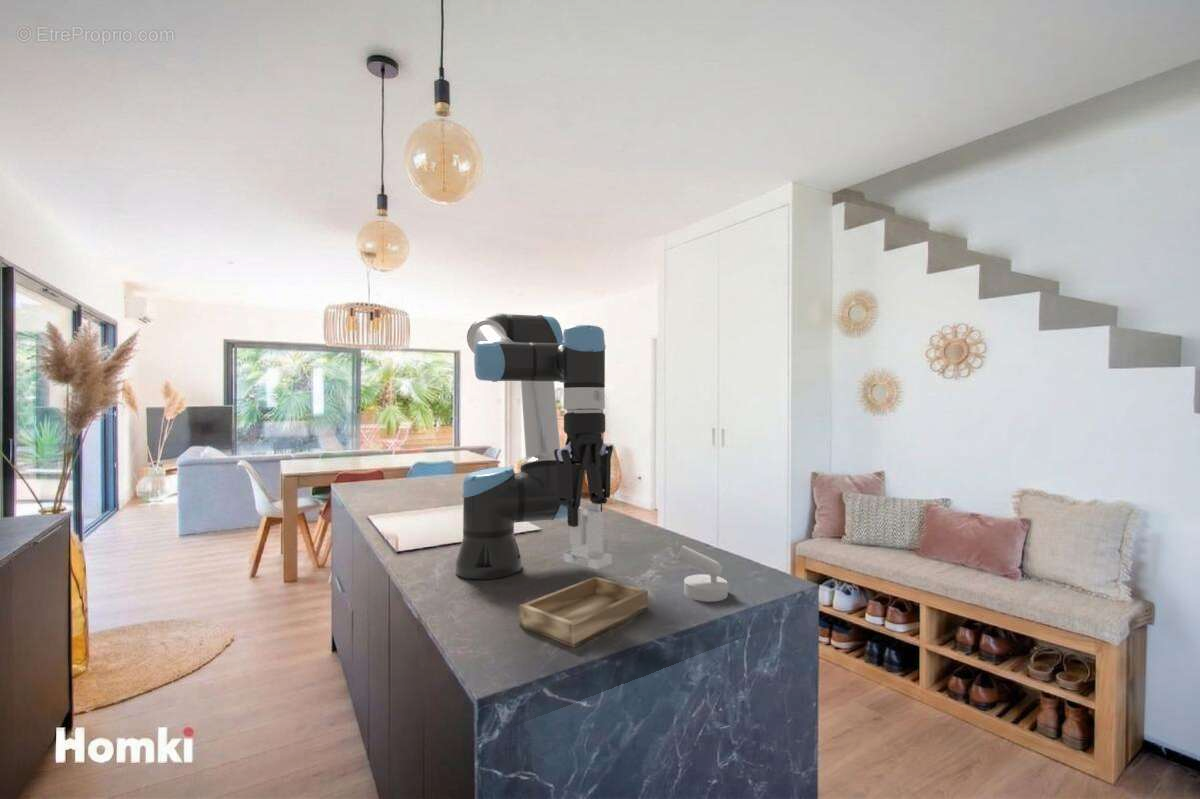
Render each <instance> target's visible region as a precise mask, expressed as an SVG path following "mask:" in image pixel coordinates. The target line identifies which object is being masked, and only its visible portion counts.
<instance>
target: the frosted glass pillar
mask: <svg viewBox="0 0 1200 799" xmlns="http://www.w3.org/2000/svg"><path fill="white" fill-rule="evenodd" d="M603 525H604V524H603V510H602V511H595V510H588V509H587V508H585V509H584V508H583V540H584V545H582V546H579V545H575V544H571V550H568V551H566V552H563V562H566V563H569V564H574V565H577V566H579V565H580V566H583V567H588V568H592V569H595V570H598V569H601V568H604V567H606V566H609V565H612V564H613V561H612V560H613V555H612V554H609V553H604V530H603V528H604V526H603Z"/></svg>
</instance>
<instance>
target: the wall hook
mask: <svg viewBox="0 0 1200 799" xmlns="http://www.w3.org/2000/svg"><path fill="white" fill-rule="evenodd" d="M676 560H679V561H680V562H682V563H684V564H686V565H688V566H690V567H692V568H694V569H696V570H698V571H700V572H703V574H692V575H688V576H686V577H685V578H684V580H683V595H685V596H686V597H687V598H689V599H691V600H694V601H698V602H706V603H707V602H708V603H709V602H718V601H719V602H720V601H723V600H725V599H727V598H728V596H729V594H728V592H729V591H728V580H726V579H725V578H723V577H721V575H722V573H723V566H722V565H721V564H720V563H719V562H718V561H717V560H715V559H712V558H711V557H708V556H707V555H704V554H702V553H700V552H699V551H696V550H694V549H692V548H690V547H688V546H685V545H683V544H682V545H681V547H680V550H679V552H678V554H677V558H676Z"/></svg>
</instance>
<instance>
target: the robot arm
mask: <svg viewBox="0 0 1200 799" xmlns="http://www.w3.org/2000/svg"><path fill="white" fill-rule="evenodd" d="M605 340H606V339H605V332H604V329H603V328H601V327H600V326H598V325H597V326H596V325H593V324H592V325H590V324H578V325H569V326H567V327H565V328H564V330H562V327H561V324H560V322H559V321H558V320H557V319H556V318H555V317H553V316H547V315H543V314H537V315H532V314H530V315H529V314H511V313H507V314H506V313H494V314H488V315H486V316H483V317H481V318H478V319H477V320H476V321H474V322H472V324H471V325H470V326H469V329H468V331H467V333H466V342H467V344H468V347H469V349H470V350H471V352H472V353H473V354H474V358H473V359H474V361H473V362H474V365H473V366H474V375H475V377H476V379H477V380H479V381H484V382H485V381H488V382H493V383H497V382H520V387H521V403H522V415H523V416H522V417H523V418H522V419H523V433H524V446H525V449H524V450H525V460H524V462H523V463H522V464H521V465H520V472H515V470H514V467H511V466H501V467H500V466H498V467H497V466H496V467H491V468H485V469H481V470H477V471H474V472H471V473H468V474H467V475H466V476H465V477H464V479H463V483H462V484H463V486H462V494H461V497H462V499H463V500H462V501H463V502H462V503H463V504H462V510H463V511H462V517H463V518H462V522H463V523H462V525H463V526H462V540H461V543H460V546H459V550H458V554H457V558H456V560H455V563H454V564H455V571H454V572H455V574H456V575H457V576H458V577H461V578H465V579H468V580H469V579H470V580H494V579H500V578H505V577H509V576H512V575H515V574H517V573H519V572H520V571H521V570H522V568H523V566H522V555H521V554H520V550H519V545H518V543H517V540H516V537H515V526H514V525H515V523H526V522H527V523H528V522H537V521H555V520H561V519H567V525H568V528H569V529H568V530H569V531H568V533H569V544H571V545H572V544H575V545H579V546H582V545H584V540H583V510H584V507H581V500H582V492H583V484H584V477H585V475H586V482H587V488H588V494H589V500H590V501H588V502H586V509H588V510H595V511H602V512H603V504H606V503H607V502H608V499H609V498H610V497H611V476H612V475H611V469H612V468H611V463H612V461H611V460H612V454H613V450H614V447H613V445H611V444H606V443H604V441H603V438H602V437H603V436H602V434H604V433H605V432H606V414H605V413H604V412H602V411H603V410H605V408H606V404H605V403H606V401H605V399H606V398H605V387H606V385H605V384H606V358H605V357H606V347H607V346H606V342H605ZM555 382H559V383H563V410H564V411H566V413H564V415H563V432H564V433H565V435H566V440H565V442H564V443H565V444H564V446H563V447H561V445H560V434H559V432H560V431H559V423H558V411H557V400H556V388H555ZM585 473H586V474H585Z"/></svg>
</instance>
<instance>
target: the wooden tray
mask: <svg viewBox="0 0 1200 799" xmlns="http://www.w3.org/2000/svg"><path fill="white" fill-rule="evenodd" d="M648 597H649V595H648V590H645V589H642V588H638V587H635V586H631V585H628V584H627V585H626V584H624V583H621V582H617V581H613V580H609V579H606V578H602V577H599V576H596V575H595V576H593V577H590V578H587V579H585V580H582V581H579V582H577V583H574V584H572V585H569V586H567V587H564V588H561V589H559V590H556V591H553V592H551V593H548V594H546V595H544V596H540V597H538V598H536V599H533V600H530V601H528V602H525V603H522V604H520V605H519V616H518V617H519V619H518V620H519V627H521V628H523V629H527V630H529V631H531V632H534V633H536V634H539V635H541V636H544V637H546V638H549V639H551V640H553V641H556V642H558V643H561V644H564V645H566V646H568V647H571V648H573V649H575V648H576V647H578V646H580V645H582V644H585V643H586V642H588V641H590V640H592V639H594V638H595V637H598V636H600V635H601V634H604V633H605V632H607V631H609V630H611V629H613V628H615V627H617V626H618V625H621V624H623V623H625V622H626V621H629V620H630V619H633V618H634V617H636V616H639V615H640V614H642V613H644V612H646V611H648V609H649V606H648V604H649V602H648V600H649V599H648Z"/></svg>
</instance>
